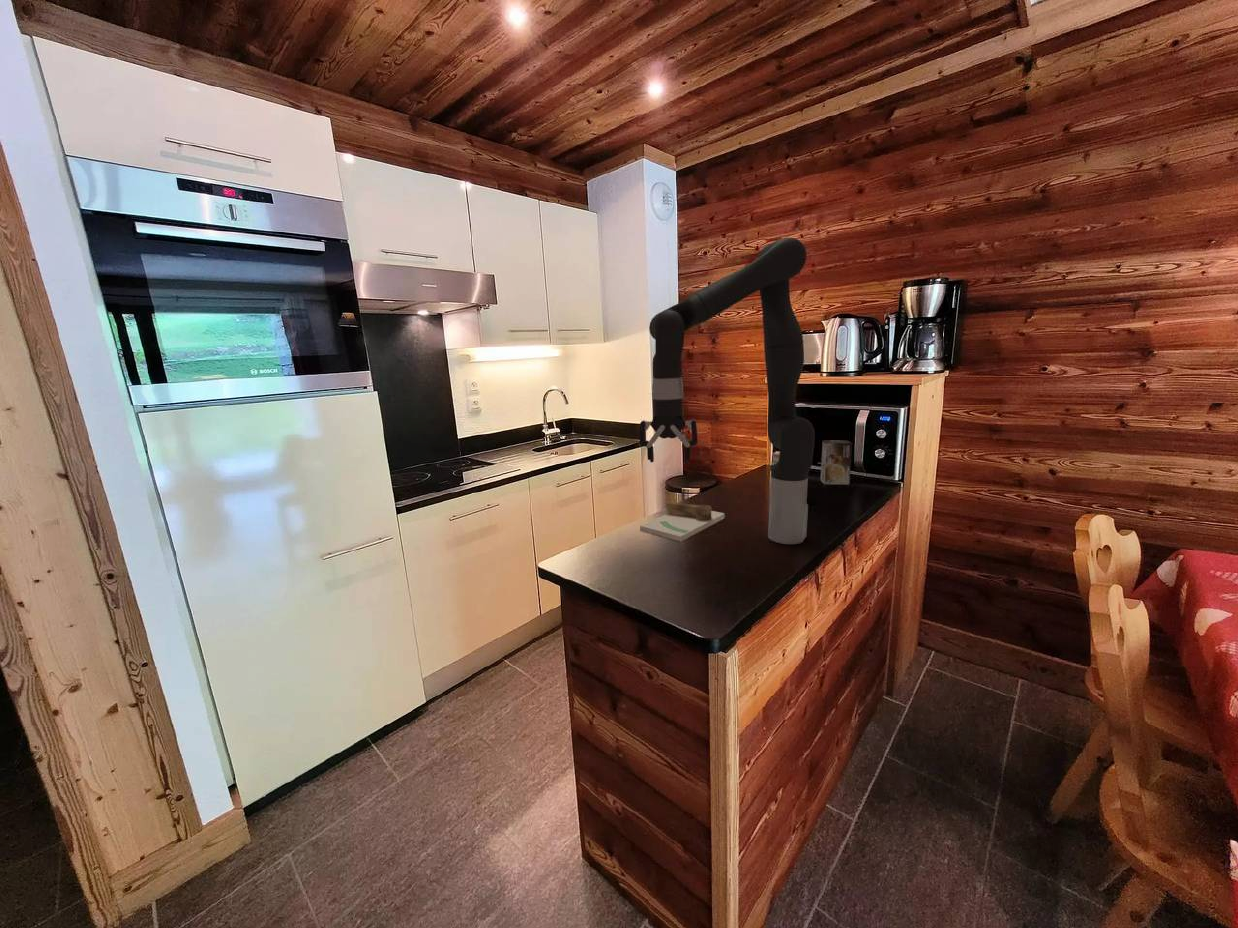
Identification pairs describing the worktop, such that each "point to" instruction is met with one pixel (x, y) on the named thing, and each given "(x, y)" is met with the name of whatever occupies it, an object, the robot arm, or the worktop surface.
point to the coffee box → (836, 461)
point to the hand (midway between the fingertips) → (668, 461)
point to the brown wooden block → (689, 510)
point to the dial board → (679, 525)
